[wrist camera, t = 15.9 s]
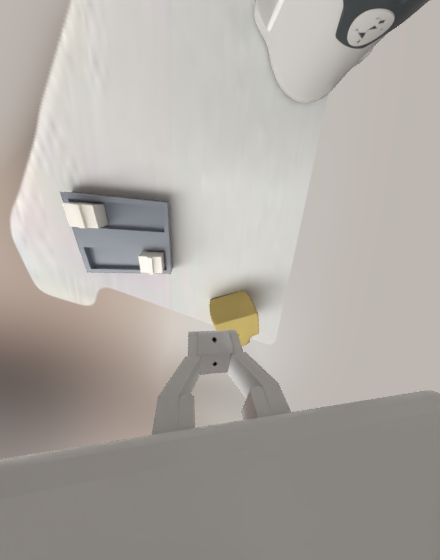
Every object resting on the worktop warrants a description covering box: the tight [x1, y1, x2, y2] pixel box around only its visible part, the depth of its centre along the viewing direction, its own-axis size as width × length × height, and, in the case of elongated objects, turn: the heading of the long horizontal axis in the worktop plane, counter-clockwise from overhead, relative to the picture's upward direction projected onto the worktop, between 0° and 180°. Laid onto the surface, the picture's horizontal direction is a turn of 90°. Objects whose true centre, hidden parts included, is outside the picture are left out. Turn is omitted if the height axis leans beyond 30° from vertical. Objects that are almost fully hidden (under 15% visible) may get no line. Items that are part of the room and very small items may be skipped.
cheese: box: [210, 291, 259, 346], centre depth 41 cm, size 10×11×10 cm
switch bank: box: [60, 192, 172, 274], centre depth 30 cm, size 14×16×3 cm
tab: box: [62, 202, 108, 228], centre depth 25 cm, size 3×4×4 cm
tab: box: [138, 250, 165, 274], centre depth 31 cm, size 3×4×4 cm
